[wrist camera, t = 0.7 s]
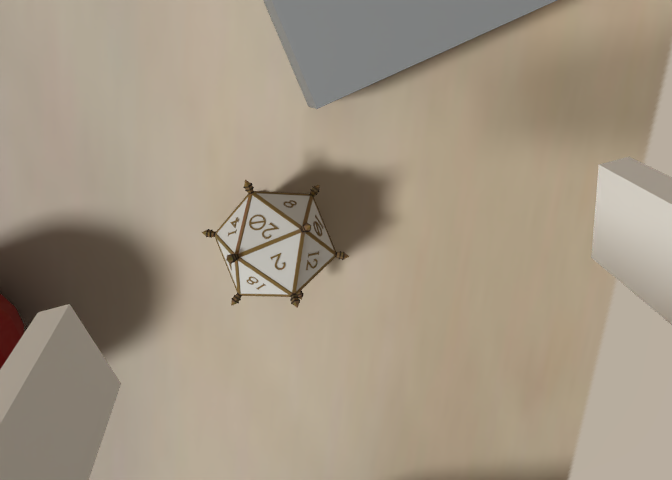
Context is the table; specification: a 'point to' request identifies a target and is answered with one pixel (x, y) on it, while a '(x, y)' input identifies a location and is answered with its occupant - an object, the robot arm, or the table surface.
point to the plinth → (377, 37)
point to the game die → (274, 244)
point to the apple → (9, 329)
